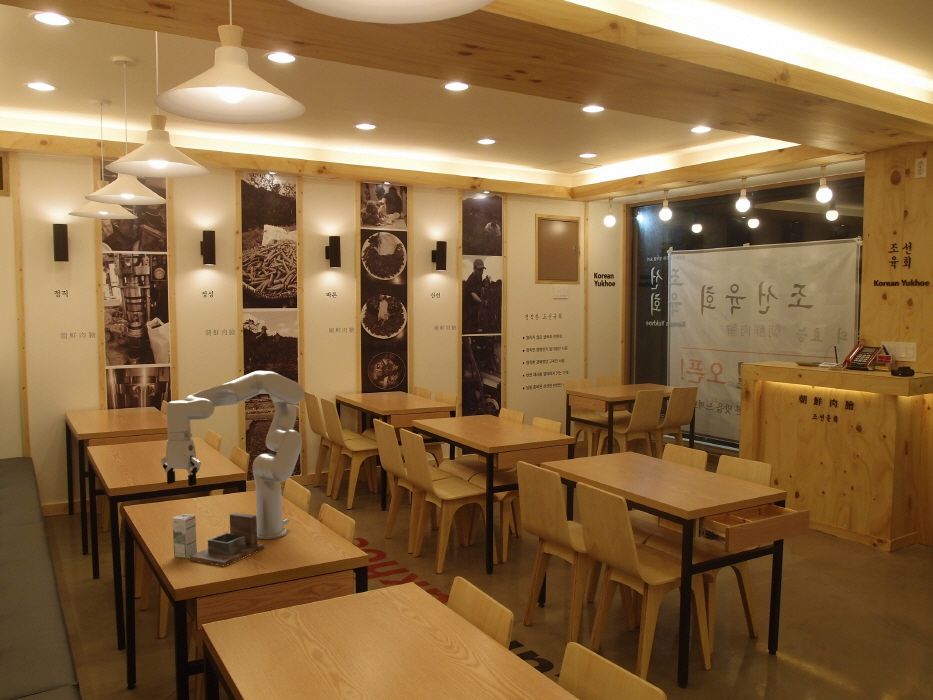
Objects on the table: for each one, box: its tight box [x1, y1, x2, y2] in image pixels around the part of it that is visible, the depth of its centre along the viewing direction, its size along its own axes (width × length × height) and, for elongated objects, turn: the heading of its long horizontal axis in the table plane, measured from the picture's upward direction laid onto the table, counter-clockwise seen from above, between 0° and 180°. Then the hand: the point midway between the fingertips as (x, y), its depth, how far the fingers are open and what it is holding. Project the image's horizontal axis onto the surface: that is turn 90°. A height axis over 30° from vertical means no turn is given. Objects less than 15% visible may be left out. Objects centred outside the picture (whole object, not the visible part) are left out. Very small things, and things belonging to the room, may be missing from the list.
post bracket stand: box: [189, 512, 265, 567], centre depth 262 cm, size 20×16×12 cm
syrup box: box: [171, 513, 198, 560], centre depth 261 cm, size 6×6×14 cm
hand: (181, 484), depth 257 cm, fingers open, 9 cm apart
